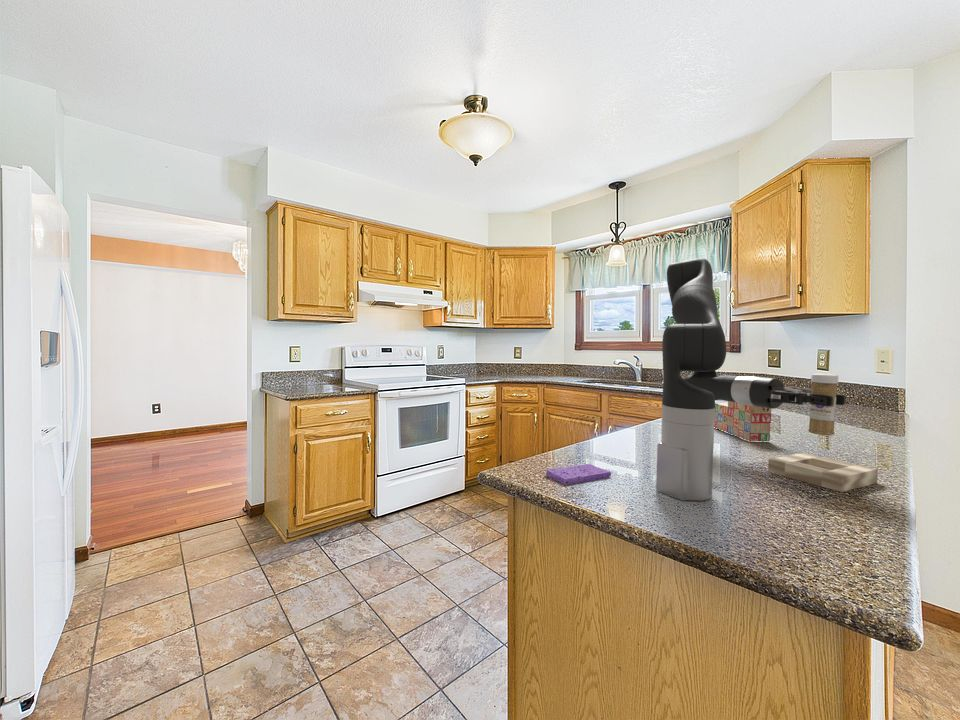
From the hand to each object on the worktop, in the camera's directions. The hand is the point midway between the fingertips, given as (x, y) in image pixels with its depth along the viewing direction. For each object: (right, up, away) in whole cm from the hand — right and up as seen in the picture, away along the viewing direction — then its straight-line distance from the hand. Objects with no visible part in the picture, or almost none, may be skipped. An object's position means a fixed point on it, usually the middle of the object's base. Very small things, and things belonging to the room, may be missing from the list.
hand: (838, 400), depth 87 cm
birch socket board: (-1, -17, +3) cm, 18 cm away
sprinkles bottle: (-1, -8, +3) cm, 8 cm away
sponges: (-56, -18, +2) cm, 59 cm away
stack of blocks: (+8, -16, +46) cm, 50 cm away
